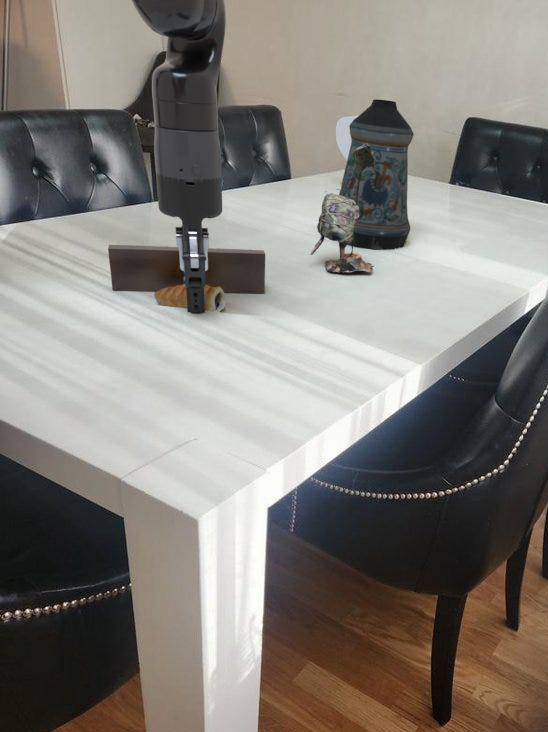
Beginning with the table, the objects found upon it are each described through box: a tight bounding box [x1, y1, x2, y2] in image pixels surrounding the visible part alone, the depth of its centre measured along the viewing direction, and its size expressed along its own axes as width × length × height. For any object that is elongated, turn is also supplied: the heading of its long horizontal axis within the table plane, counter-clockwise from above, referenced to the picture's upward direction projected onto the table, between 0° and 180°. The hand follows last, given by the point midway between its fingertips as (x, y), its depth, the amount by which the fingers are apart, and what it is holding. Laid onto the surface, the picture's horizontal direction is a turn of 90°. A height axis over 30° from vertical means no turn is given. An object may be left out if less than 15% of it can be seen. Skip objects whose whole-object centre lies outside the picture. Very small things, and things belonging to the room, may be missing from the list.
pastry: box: [153, 284, 227, 313], centre depth 89 cm, size 9×7×4 cm
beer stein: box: [338, 99, 415, 251], centre depth 129 cm, size 16×19×25 cm
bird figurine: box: [309, 144, 376, 274], centre depth 109 cm, size 8×11×20 cm
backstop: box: [107, 244, 266, 294], centre depth 96 cm, size 22×2×6 cm, turn 104°
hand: (196, 313), depth 86 cm, fingers closed
